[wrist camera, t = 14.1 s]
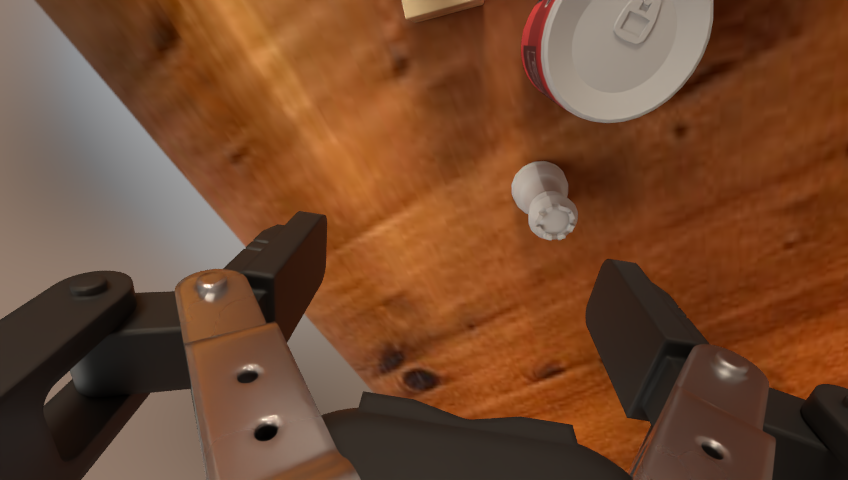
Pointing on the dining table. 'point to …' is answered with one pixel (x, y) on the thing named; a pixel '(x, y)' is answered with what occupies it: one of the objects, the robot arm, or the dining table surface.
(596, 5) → the canned food
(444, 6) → the maple block
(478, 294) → the dining table surface
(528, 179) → the rook chess piece
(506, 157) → the dining table surface
